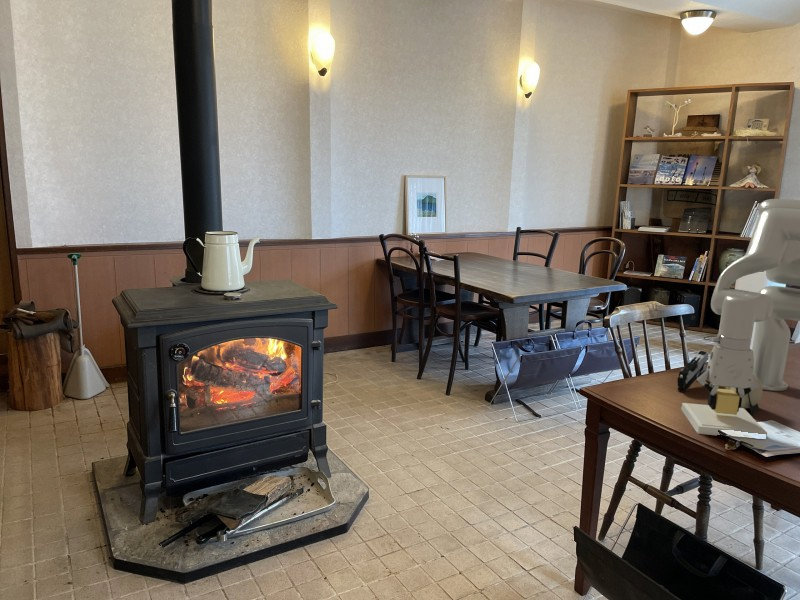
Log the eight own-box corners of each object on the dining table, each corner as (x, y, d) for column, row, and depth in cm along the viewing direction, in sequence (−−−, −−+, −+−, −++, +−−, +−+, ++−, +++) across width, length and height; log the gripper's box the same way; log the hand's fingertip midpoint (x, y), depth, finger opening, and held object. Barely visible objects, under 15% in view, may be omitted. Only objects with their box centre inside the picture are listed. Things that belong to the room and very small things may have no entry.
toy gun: (676, 402, 185) (676, 373, 180) (700, 375, 195) (701, 347, 190) (684, 405, 183) (684, 375, 179) (708, 377, 193) (709, 348, 189)
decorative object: (723, 417, 169) (730, 407, 176) (763, 417, 163) (769, 407, 170) (715, 374, 169) (723, 366, 176) (755, 373, 162) (762, 365, 169)
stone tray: (681, 409, 168) (682, 402, 168) (742, 415, 166) (743, 407, 165) (697, 433, 153) (698, 425, 153) (765, 440, 150) (767, 432, 150)
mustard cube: (710, 405, 161) (712, 388, 160) (730, 407, 160) (732, 389, 159) (716, 412, 156) (718, 394, 155) (736, 414, 156) (739, 396, 155)
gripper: (702, 344, 152) (693, 411, 156) (775, 349, 149) (764, 417, 153) (694, 336, 160) (685, 400, 163) (763, 341, 157) (752, 406, 161)
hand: (723, 408), depth 158 cm, fingers closed on mustard cube, 5 cm apart
